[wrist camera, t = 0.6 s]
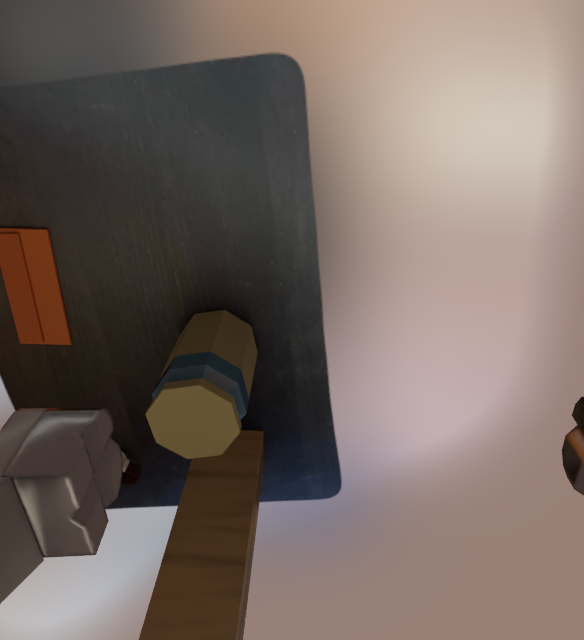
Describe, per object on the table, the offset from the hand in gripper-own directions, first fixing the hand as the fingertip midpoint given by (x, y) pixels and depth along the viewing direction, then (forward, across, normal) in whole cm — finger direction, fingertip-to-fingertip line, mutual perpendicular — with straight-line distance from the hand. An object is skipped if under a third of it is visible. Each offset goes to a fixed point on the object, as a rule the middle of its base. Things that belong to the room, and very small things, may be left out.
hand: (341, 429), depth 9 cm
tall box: (+44, +10, +42) cm, 61 cm away
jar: (+45, +10, +26) cm, 52 cm away
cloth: (+46, +30, +19) cm, 58 cm away
